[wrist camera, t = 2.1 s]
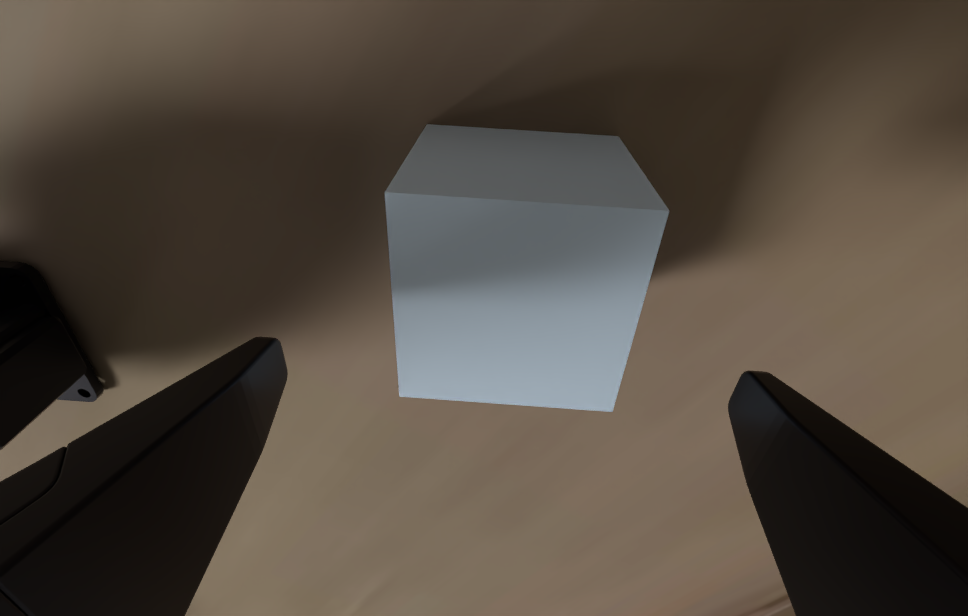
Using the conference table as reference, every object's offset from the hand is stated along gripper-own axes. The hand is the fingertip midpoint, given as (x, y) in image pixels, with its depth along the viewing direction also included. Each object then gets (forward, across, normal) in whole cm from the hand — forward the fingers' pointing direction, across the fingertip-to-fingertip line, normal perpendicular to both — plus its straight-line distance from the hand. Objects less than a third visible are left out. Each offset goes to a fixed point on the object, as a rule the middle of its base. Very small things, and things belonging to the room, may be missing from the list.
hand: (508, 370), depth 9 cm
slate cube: (+7, 0, 0) cm, 7 cm away
